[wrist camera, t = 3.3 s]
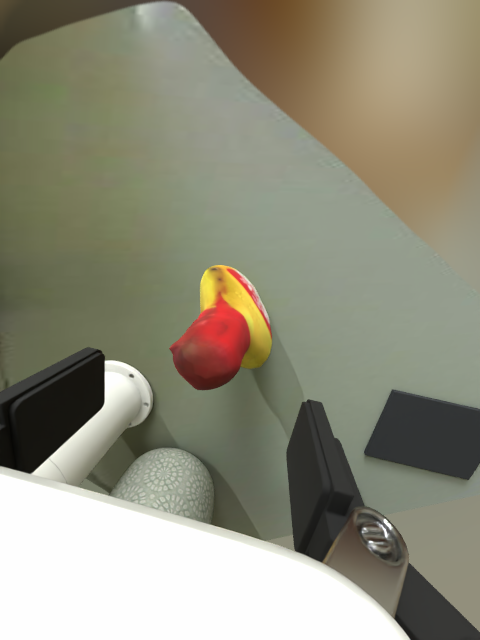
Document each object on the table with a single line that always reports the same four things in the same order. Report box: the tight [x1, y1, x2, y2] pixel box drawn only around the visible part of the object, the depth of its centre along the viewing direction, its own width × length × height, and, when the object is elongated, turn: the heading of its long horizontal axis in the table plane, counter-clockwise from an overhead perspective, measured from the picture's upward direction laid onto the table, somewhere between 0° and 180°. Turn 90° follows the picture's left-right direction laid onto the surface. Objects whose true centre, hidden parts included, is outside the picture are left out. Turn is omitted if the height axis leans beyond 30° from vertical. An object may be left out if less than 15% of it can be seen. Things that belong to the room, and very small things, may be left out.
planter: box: [108, 448, 215, 525], centre depth 35 cm, size 17×17×15 cm
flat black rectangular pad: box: [364, 390, 480, 480], centre depth 34 cm, size 16×12×1 cm
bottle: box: [169, 265, 272, 390], centre depth 22 cm, size 12×6×20 cm, turn 21°
